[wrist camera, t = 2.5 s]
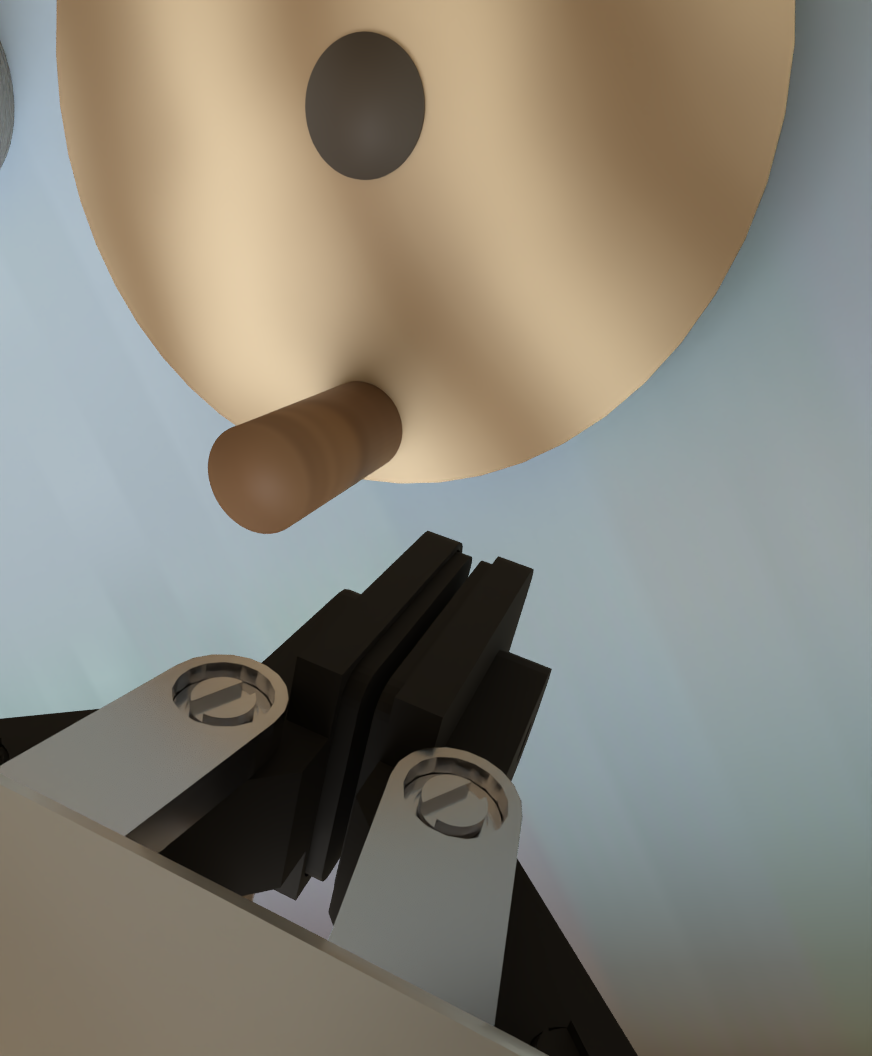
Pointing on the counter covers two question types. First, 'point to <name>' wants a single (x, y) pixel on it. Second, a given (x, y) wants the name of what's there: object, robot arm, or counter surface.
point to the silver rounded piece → (5, 107)
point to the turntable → (415, 214)
